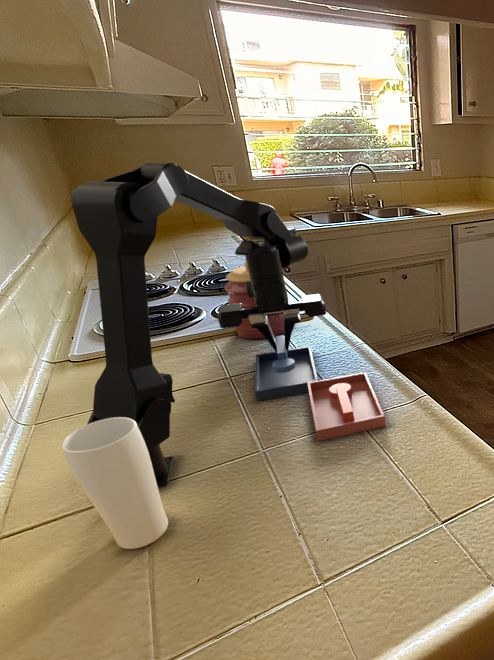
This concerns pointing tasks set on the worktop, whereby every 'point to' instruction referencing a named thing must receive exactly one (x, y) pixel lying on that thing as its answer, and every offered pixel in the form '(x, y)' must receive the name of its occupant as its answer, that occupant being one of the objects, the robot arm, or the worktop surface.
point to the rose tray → (330, 413)
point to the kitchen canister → (248, 304)
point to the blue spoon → (282, 357)
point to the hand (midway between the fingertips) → (282, 350)
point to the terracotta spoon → (343, 400)
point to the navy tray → (284, 374)
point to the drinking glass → (118, 479)
